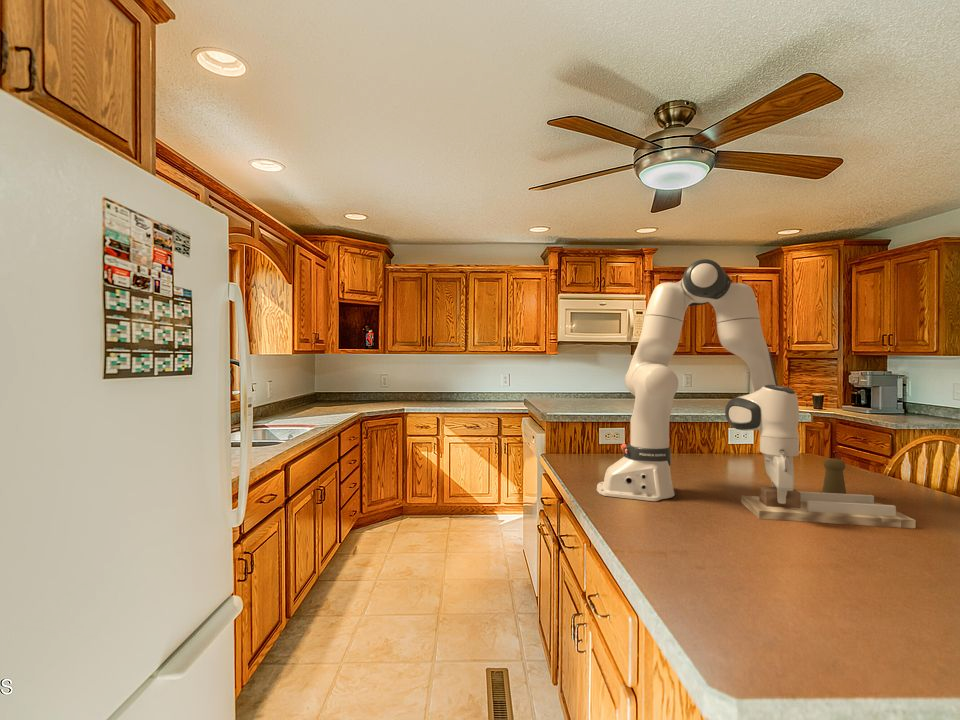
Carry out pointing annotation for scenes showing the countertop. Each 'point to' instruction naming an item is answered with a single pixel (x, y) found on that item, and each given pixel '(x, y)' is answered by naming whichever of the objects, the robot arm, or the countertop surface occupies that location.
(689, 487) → the countertop surface
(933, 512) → the countertop surface
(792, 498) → the walnut block
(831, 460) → the cork
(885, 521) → the board
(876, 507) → the channel walls
